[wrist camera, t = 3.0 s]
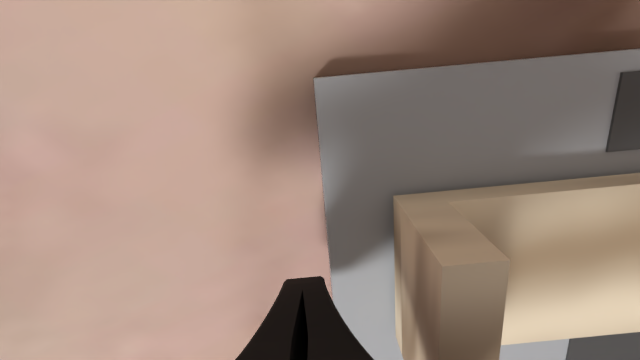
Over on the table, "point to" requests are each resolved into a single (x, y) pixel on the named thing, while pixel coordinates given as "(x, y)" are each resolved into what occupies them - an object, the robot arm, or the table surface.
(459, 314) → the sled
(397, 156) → the plate
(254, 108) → the table surface
